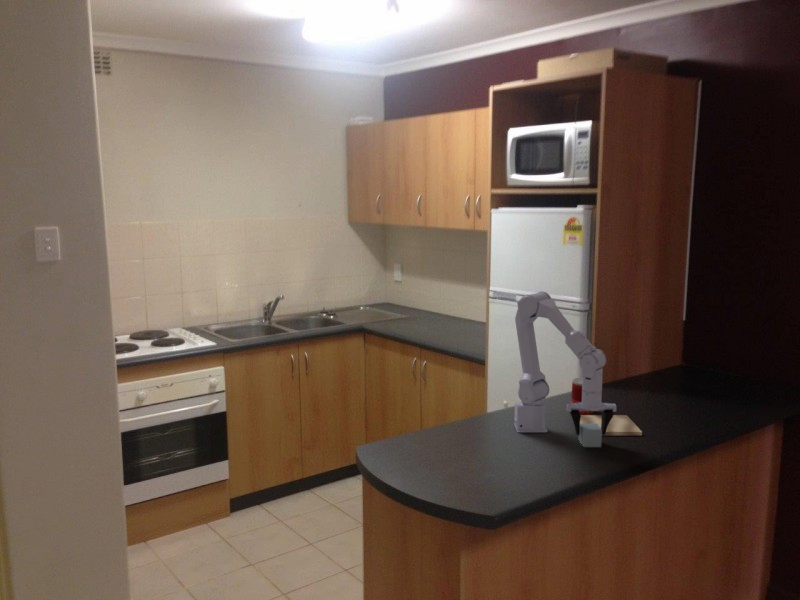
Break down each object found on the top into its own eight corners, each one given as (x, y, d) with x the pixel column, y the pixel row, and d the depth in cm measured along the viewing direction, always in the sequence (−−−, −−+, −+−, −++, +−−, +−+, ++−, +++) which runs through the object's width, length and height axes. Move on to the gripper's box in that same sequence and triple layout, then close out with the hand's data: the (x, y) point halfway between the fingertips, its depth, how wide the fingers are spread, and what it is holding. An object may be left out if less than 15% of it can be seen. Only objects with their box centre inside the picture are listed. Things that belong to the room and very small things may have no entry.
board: (584, 435, 222) (584, 431, 222) (572, 418, 238) (572, 415, 238) (641, 435, 222) (642, 431, 222) (626, 418, 238) (626, 415, 237)
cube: (582, 447, 213) (583, 429, 212) (578, 440, 218) (579, 423, 217) (601, 447, 212) (601, 429, 212) (596, 440, 218) (597, 423, 217)
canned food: (589, 417, 239) (591, 385, 237) (567, 412, 244) (568, 381, 242) (597, 411, 245) (599, 380, 243) (575, 406, 250) (577, 376, 248)
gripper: (570, 394, 209) (569, 438, 211) (620, 394, 208) (618, 438, 211) (565, 387, 216) (564, 430, 218) (613, 387, 215) (611, 430, 217)
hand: (590, 433), depth 215 cm, fingers open, 7 cm apart
